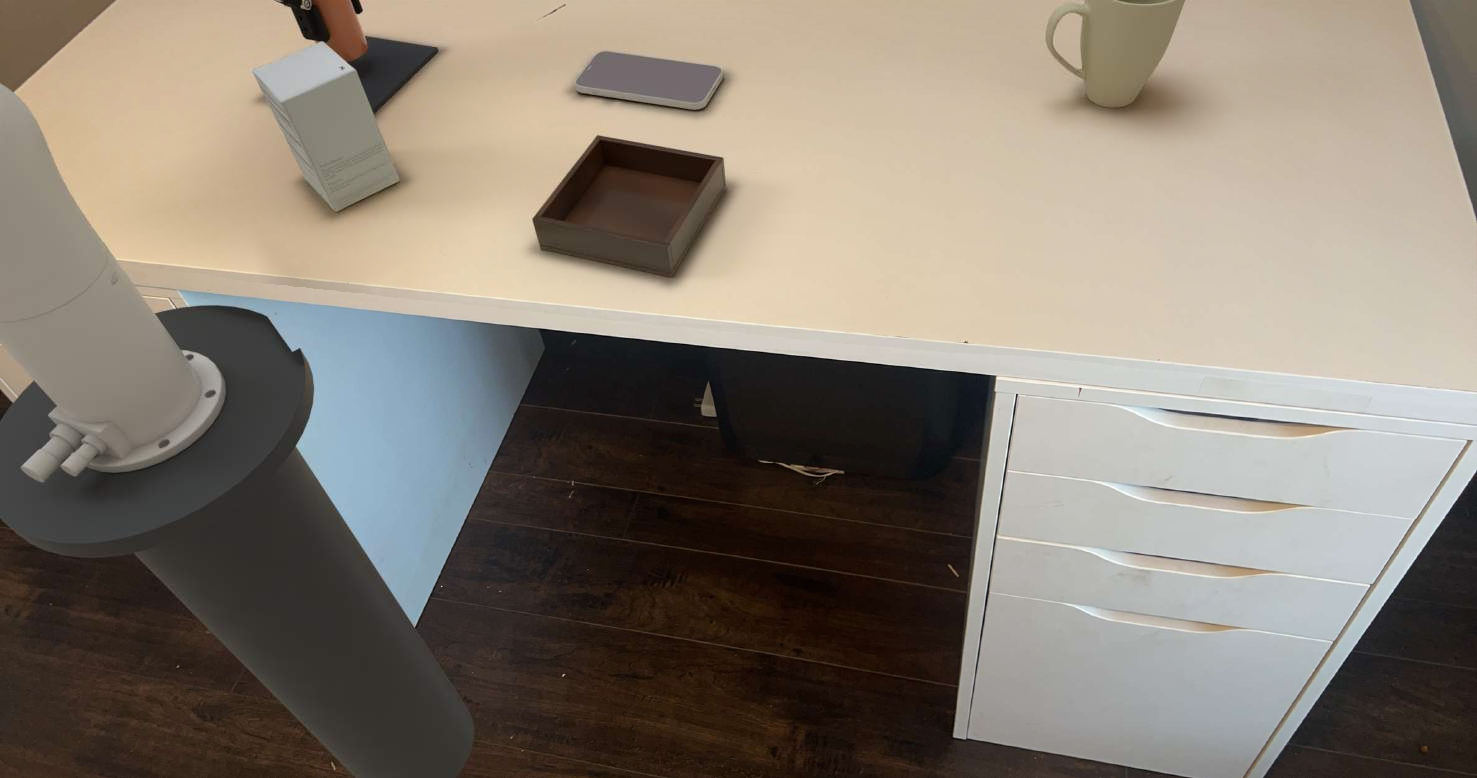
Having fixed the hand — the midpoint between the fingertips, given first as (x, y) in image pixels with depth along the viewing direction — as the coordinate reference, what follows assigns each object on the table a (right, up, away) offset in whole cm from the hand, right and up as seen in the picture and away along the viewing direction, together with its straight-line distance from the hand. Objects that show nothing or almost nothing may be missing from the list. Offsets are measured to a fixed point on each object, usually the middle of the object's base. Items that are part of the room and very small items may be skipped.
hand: (333, 23), depth 108 cm
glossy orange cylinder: (0, -2, +2) cm, 3 cm away
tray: (+35, -24, -15) cm, 45 cm away
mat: (0, -4, +5) cm, 6 cm away
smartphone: (+35, -7, -1) cm, 35 cm away
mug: (+81, -10, -8) cm, 82 cm away
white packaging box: (+6, -19, -9) cm, 22 cm away
